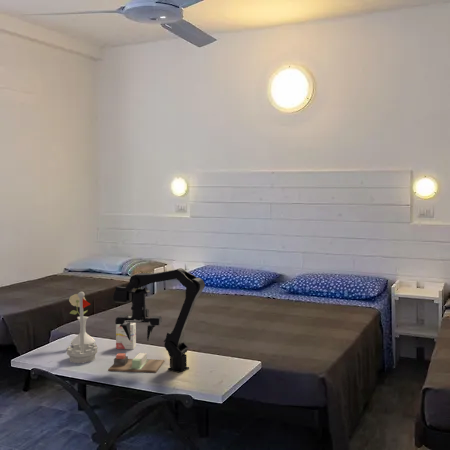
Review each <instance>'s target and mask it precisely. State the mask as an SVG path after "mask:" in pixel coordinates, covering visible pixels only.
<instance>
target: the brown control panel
mask: <svg viewBox="0 0 450 450" xmlns="http://www.w3.org/2000/svg"><path fill="white" fill-rule="evenodd" d="M133 359H134V358H129V356H127V355H126V358H125V359H116V357H115V358H114V359H113V364H112V365H111V366H110V367H108V369H107V370H108V371H109V372H129V373H130V372H131V373H132V372H136V373H157V372H158V371H159V369H160V368H161V367H162V366H163V364H164V363H165V359H152V358H151V359H149V358H147V361H146V362H145V363H144V364H143V365H142V366H141V367H140V368H132V360H133Z"/></svg>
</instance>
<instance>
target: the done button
mask: <svg viewBox="0 0 450 450" xmlns="http://www.w3.org/2000/svg"><path fill="white" fill-rule="evenodd" d="M126 354H127V353H121V352H117V354H116V355H115V358H116V359H125V358H126V356H127V355H126Z"/></svg>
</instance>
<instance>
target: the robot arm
mask: <svg viewBox="0 0 450 450" xmlns="http://www.w3.org/2000/svg"><path fill="white" fill-rule="evenodd" d="M171 280H177V281H178V282H179V283H180V284H181V285H182V286H183V287H185V297H184V298H185V299H184V301H183V304H182V306H181V309H180V311H179V314H178V317H177V320H176V321H175V325H174V328H173V329H171V330H169V331H168V332H166V335H165V339H164V340H163V342H164V344H163V345H164V348H165V350H166V351H167V353H168V356H169V367H167V370H168V371H173V372H176V373H180V372H183V371H186V370H188V369H190V367H189V366H187V354H186V353H187V352H188V349H189V347H188V346H187V344H186V343H185V342H184V339H185V330H186V326H187V324H188V321H189V319H190V317H191V314H192V311H193V309H194V306H195V302H196V301H197V299H198V298H199V297H200V295H201V294H202V293H203V290H204V289H205V286H206V284H205V281H204V279H202V278H201V277H197V276H195V274H192V273H190V272H188V271H186V270H185V269H184V268H182V267H180V268H176V269H172V270H164V271H160V272H155V273H154V272H153V273H150V272H149V273H148V272H139V273H136V274H133V275H131V276H130V278H129V282H128V284H127V285H126V286H115V289H114V292H113V295H112V296H113V301H114V302H115V303H118V304H119V303H120V304H129V303H130V302H131V308H130V310H131V316H132V317H131V318H128V316H129V315H127V314H126V315H125V314H121V315H118V316H116V317H115V321H114V322H115V325H116V324H121V325H120V326H122V327H123V329H124V331H125V332H126V335H127V337H128V339H129V340H131V333H130V322H135V323H148V325H147V333H146V335H147V336H146V341H147V342H149V341H150V338H151V335H152V332H153V330H154V328H155V327H156V326H160V325H161V324H163V317H162V316H161V315H152V316H151V317H149V315H150V309H148V308H147V303H146V295H148V294H150V293H151V290H150V289H149V288H148V287H147V285H150V284H155V283H161V282H166V281H171ZM142 287H143V288H142Z"/></svg>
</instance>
